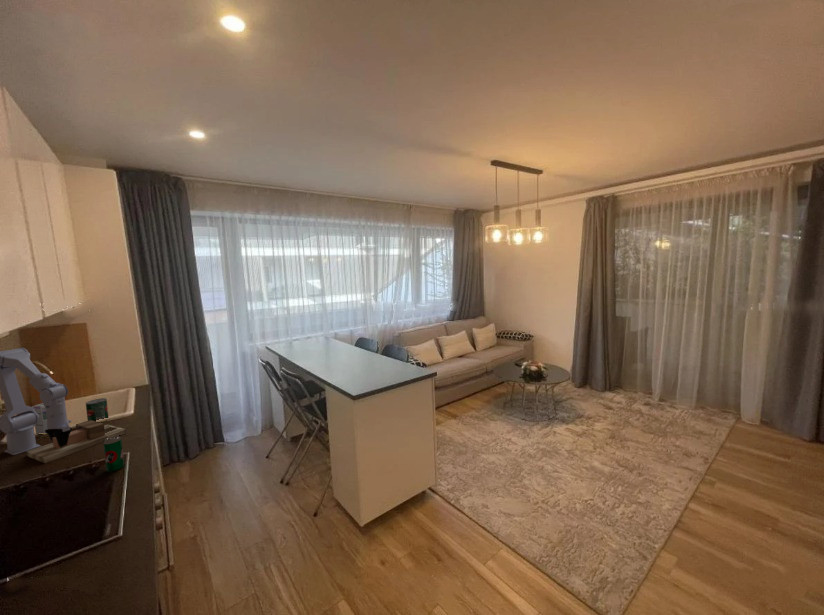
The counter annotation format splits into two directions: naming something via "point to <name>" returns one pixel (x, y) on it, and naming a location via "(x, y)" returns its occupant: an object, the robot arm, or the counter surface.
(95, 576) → the counter surface
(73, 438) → the bar
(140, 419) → the counter surface
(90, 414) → the canned tomato
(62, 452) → the pit track
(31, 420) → the robot arm
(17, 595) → the counter surface
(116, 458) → the soda can
